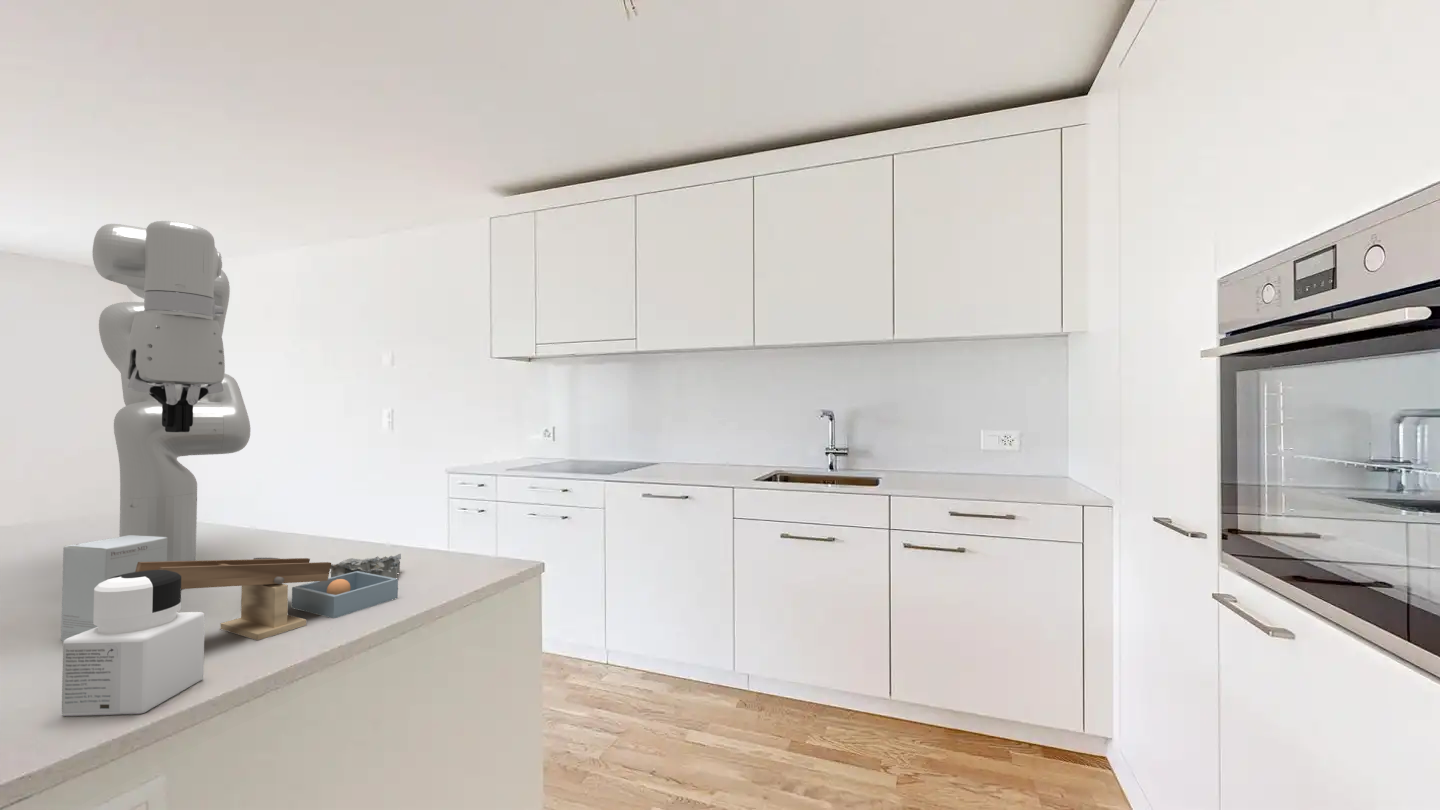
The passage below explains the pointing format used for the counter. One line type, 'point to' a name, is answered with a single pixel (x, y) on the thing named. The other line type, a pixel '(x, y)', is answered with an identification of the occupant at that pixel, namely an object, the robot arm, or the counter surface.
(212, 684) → the counter surface
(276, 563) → the lever
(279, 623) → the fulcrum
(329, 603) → the dish
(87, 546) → the supplement box
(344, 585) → the ball
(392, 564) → the egg carton
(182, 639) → the container
